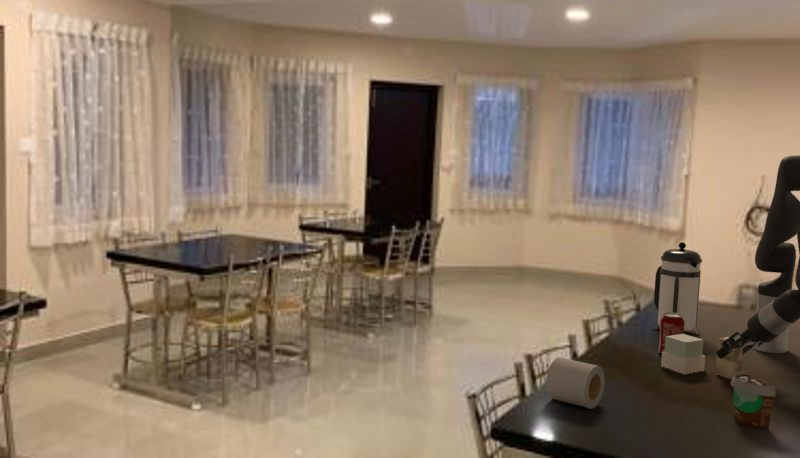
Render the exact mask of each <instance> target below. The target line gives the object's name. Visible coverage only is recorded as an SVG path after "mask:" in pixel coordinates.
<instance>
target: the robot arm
mask: <svg viewBox="0 0 800 458" xmlns="http://www.w3.org/2000/svg"><path fill="white" fill-rule="evenodd" d="M793 192H800V155H788V156H785V157H783V158H782V159H781V160H780V162H779V166H778V169H777V173H776V180H775V187H774V192H773V196H772V200H771V203H770V206H769V209H768V211H767V216H766V221H765V224H764V229H763V233H762V235H761V237H760V240H759V242H758V244H757V247H756V251H755V255H754V262H755V263H754V264H755V267H756V269H758V270H759V271H761V272H766V273H777V274H779V273H780V275H779V276H777V277H776V278H774V279H772V280H769V281H768V280H767V281H764V282H761V283H759V284H758V286H757V298H756V310H755V314H753V315H752V316H751V317H750V318H748V320H747V323H746V325H747V328H745V329H743V330H741V331H740V333H739V331H736V332H734V333H733V334H732V335H731V336H728V337H729V338H728V339H727V340H725V341H724V342H722V343H721V345H722V346H723V347H722V348H720V349H719V350H718V351H716V352H715V353H716V356H717V355H718V357H719V358H720V359H722V358H724V357H725V356H727V355H728V354H729V353H730V352H732V351H734V350H736V349H739V350H740V349H742V348H743V354H742V356H743V355H745V354H746V353H747V352H748V351H750V350H751V349H754V350H756V351H759V352H764V353H770V354H785V353H787V351H788V350H789V340H790V328H791V326H792V325H793V324H794V323H796V322H797V321H798V320H799V319H800V200H799V199H798V197H796V196H795V195H794V194H793ZM795 236H796V238H797V246H798V247H797V248H798V254H799V257H798V261H797V260H796V259H797V250H796V245H794V244H793V243H791V242H788V241H789V240H792V238H794V237H795ZM796 261H797V266H796ZM795 266H796V267H797V268H796V272H795ZM794 273H795V279H793V278H794ZM793 280H794V282H795V285H796V288H797V289H793ZM739 343H741V344H742V345H739ZM730 345H731V346H730Z"/></svg>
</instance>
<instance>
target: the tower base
mask: <svg viewBox="0 0 800 458" xmlns="http://www.w3.org/2000/svg"><path fill="white" fill-rule="evenodd" d="M660 360H661V362H660V367H661V366H662V367H661V368H663V367H665V368H664V369H666V368H669V369H671V370H670V371H672V370H674V371H673V372H675V371H676V373H678V372H679V374H681V373H682V375H688V374H689V373H690V374H694V373H693V372H695V373H700V372H699V371H701V372H704V371H705V363H706V355H704V354H702V356H697V357H691V358H682V357H678V356H675V355H672V354H669V353H666V352H665V351H664V352H662V354H661V359H660ZM669 369H668V370H669Z"/></svg>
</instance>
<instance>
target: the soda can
mask: <svg viewBox="0 0 800 458" xmlns="http://www.w3.org/2000/svg"><path fill="white" fill-rule="evenodd" d="M682 317H683V315H681V314H678V313H663V316H662V318H661V319H660V327H659V333H658V335H659V336H658V349H657V351H658V353H660V354H661V353H662V352H664V351H665V338H666V336H671V335H678V334H685V331H684V320H683V318H682Z"/></svg>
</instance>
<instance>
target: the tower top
mask: <svg viewBox="0 0 800 458" xmlns="http://www.w3.org/2000/svg"><path fill="white" fill-rule="evenodd" d="M703 350H704V339H703V338H699V337H696V336H691V335H689V334H685V333H684V334H678V335H671V336H666V338H665V352H666V353H669V354H672V355H675V356H678V357H682V358H691V357H697V356H702V355H703V353H704V352H703Z"/></svg>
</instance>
